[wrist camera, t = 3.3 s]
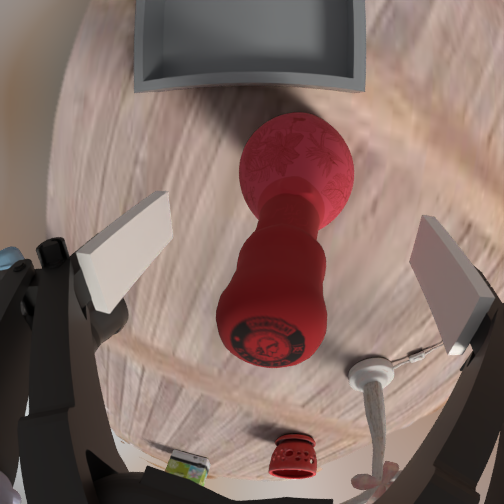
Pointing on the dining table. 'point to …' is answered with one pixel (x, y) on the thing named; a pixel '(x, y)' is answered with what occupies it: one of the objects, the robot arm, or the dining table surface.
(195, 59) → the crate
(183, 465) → the tea box
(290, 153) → the wine bottle
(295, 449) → the plant pot
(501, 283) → the dining table surface
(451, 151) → the dining table surface
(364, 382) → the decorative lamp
